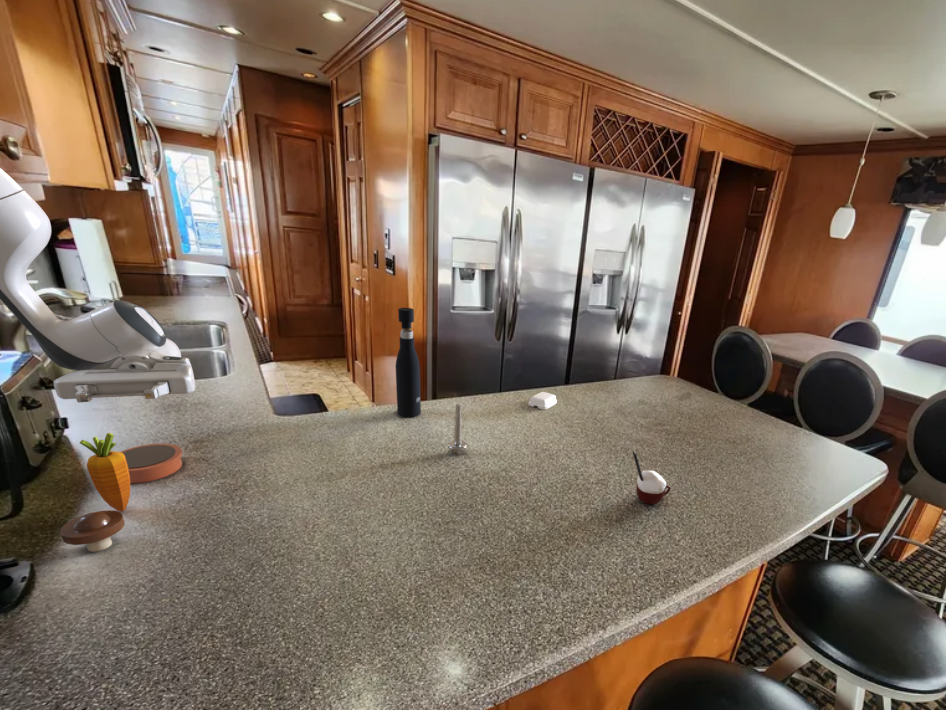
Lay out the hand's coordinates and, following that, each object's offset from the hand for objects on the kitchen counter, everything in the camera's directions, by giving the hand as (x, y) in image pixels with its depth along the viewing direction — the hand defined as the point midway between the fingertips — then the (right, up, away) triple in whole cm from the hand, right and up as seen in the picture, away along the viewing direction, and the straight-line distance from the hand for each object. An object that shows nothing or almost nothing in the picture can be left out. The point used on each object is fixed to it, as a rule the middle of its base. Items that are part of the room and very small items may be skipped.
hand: (116, 396), depth 83 cm
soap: (+76, 0, +66) cm, 101 cm away
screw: (+56, -13, +30) cm, 65 cm away
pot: (-4, -15, +10) cm, 18 cm away
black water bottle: (+38, -3, +49) cm, 62 cm away
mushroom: (+7, -24, -10) cm, 27 cm away
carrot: (+3, -21, -2) cm, 21 cm away
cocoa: (+100, -22, +18) cm, 104 cm away
